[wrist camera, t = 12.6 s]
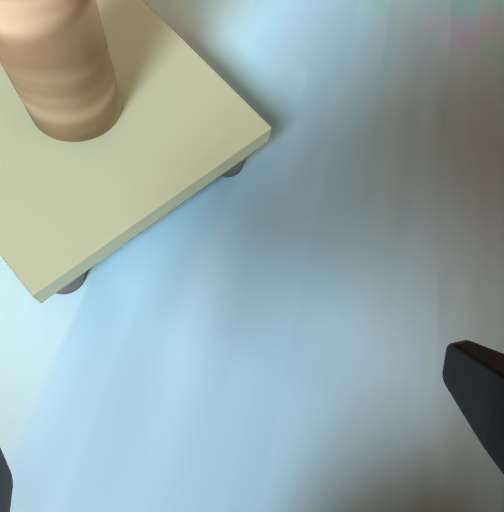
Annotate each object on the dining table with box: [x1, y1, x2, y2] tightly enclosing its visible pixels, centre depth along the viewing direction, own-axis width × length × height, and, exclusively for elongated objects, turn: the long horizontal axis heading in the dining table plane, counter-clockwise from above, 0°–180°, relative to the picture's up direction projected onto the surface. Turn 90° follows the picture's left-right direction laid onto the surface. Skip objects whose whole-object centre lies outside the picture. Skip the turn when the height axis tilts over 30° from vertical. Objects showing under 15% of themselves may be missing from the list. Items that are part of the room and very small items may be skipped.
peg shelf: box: [0, 0, 272, 303], centre depth 24 cm, size 14×14×4 cm
